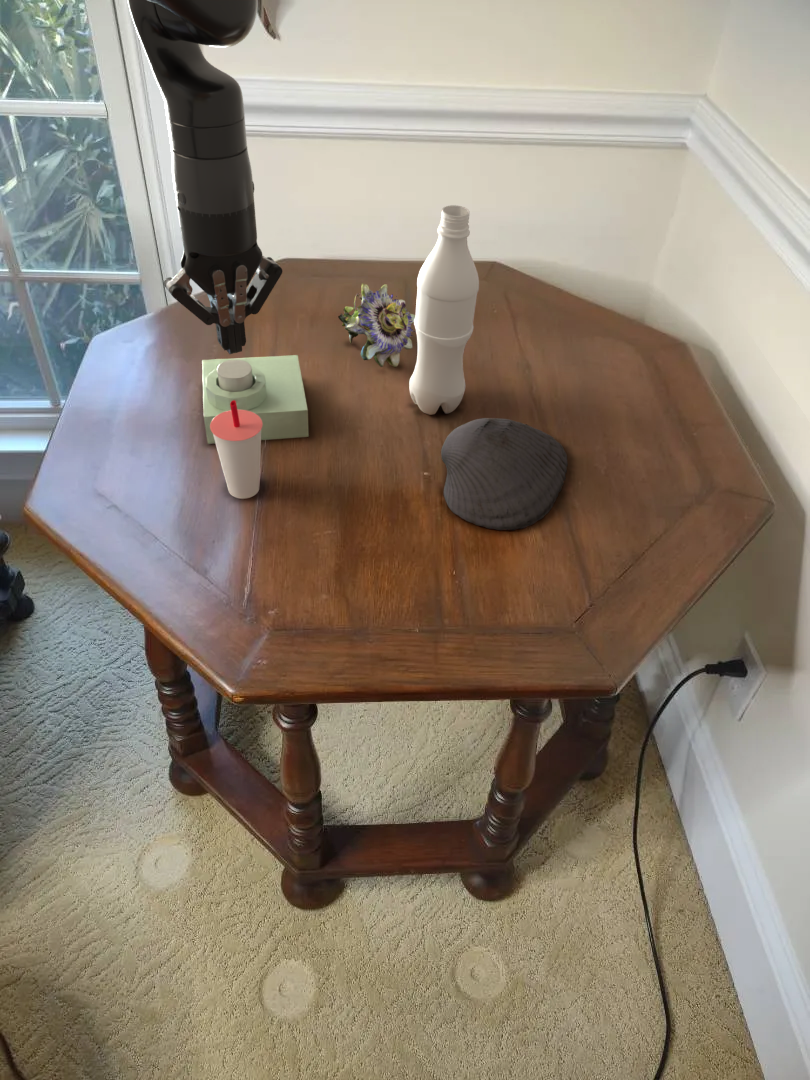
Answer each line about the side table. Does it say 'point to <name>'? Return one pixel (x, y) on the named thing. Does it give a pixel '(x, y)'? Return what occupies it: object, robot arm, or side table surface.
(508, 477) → the seashell
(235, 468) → the cup
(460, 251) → the water bottle
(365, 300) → the passion flower
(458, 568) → the side table surface
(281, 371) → the green button box
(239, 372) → the button
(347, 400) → the side table surface
